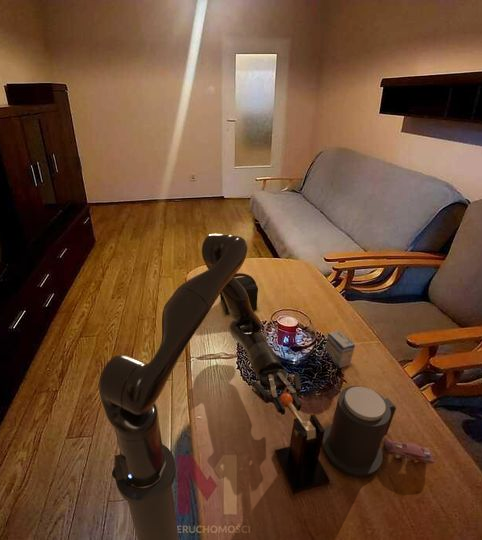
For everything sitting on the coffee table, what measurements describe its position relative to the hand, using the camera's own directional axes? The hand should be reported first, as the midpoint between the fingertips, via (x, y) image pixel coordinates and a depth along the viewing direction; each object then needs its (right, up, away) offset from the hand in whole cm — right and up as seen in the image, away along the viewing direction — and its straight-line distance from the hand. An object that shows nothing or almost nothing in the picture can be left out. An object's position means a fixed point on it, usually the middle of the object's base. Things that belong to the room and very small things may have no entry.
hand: (291, 410), depth 84 cm
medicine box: (+22, +5, +30) cm, 37 cm away
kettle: (+15, -11, +3) cm, 19 cm away
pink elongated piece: (+28, -12, +1) cm, 31 cm away
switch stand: (+2, -13, -1) cm, 14 cm away
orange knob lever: (+1, -1, -2) cm, 3 cm away
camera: (-8, +19, +57) cm, 61 cm away
